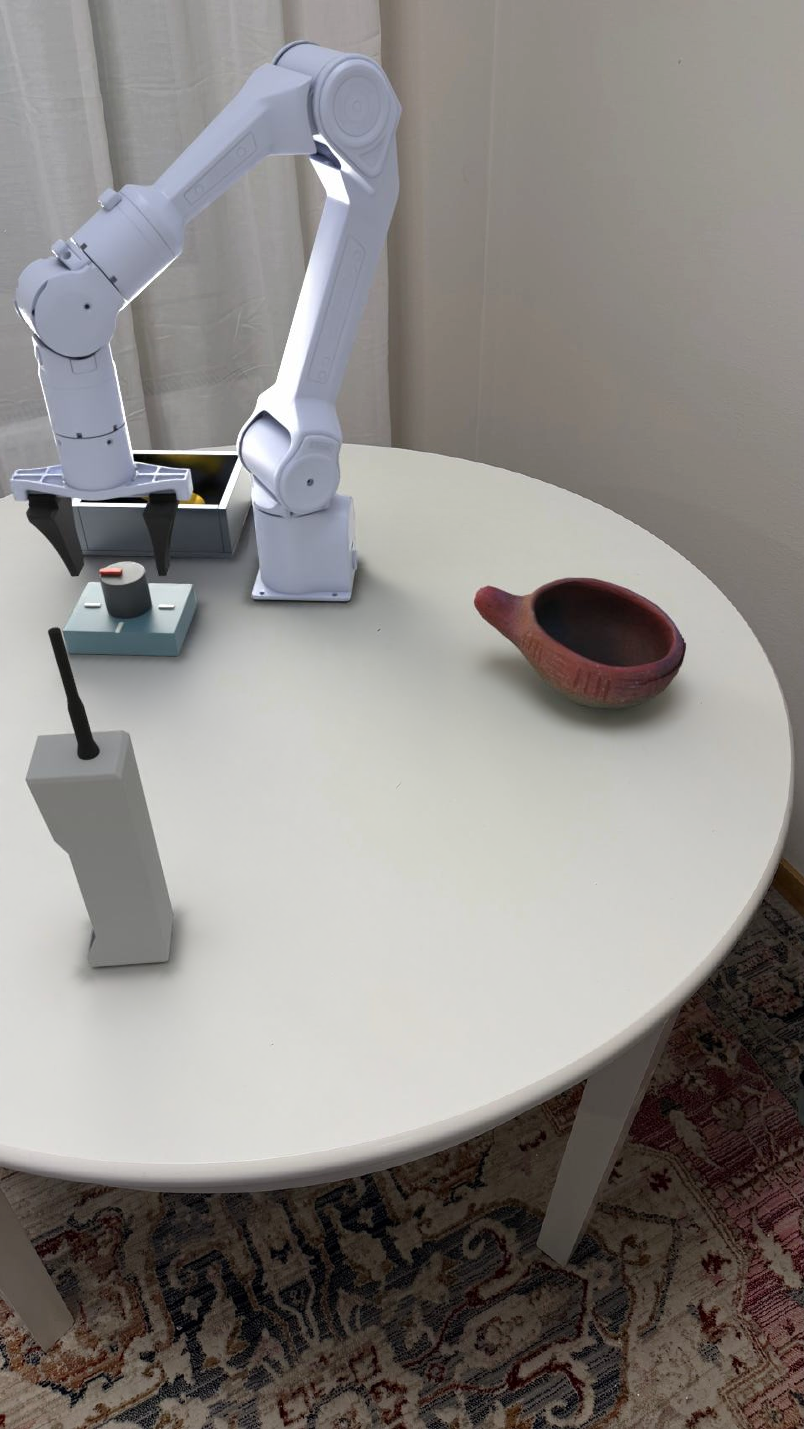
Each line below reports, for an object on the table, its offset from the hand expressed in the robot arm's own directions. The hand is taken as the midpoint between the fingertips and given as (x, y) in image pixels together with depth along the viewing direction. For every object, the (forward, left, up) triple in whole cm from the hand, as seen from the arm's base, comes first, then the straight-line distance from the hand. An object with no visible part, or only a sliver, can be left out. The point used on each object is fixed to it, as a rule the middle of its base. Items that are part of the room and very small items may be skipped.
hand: (121, 570), depth 89 cm
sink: (+1, -19, -6) cm, 20 cm away
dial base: (0, 0, -6) cm, 6 cm away
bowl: (-40, +7, -6) cm, 41 cm away
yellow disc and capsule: (+3, -20, -3) cm, 20 cm away
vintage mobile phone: (-9, +35, -6) cm, 37 cm away
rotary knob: (0, 0, -4) cm, 4 cm away
